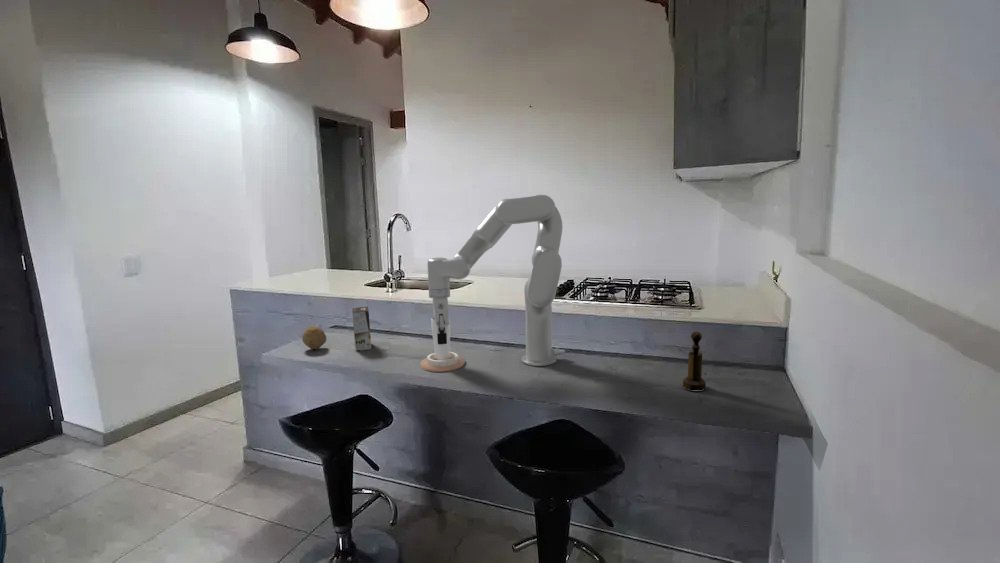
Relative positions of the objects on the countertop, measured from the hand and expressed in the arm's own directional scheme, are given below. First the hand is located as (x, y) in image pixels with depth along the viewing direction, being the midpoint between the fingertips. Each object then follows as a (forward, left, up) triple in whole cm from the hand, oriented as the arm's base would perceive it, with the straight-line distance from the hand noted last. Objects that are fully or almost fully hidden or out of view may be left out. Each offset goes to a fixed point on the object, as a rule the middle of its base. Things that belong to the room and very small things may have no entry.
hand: (441, 340), depth 175 cm
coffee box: (+31, -29, -9) cm, 43 cm away
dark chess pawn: (-75, +41, -9) cm, 86 cm away
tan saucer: (0, 0, -9) cm, 9 cm away
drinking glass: (0, 0, -7) cm, 7 cm away
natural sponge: (+51, -31, -9) cm, 60 cm away
